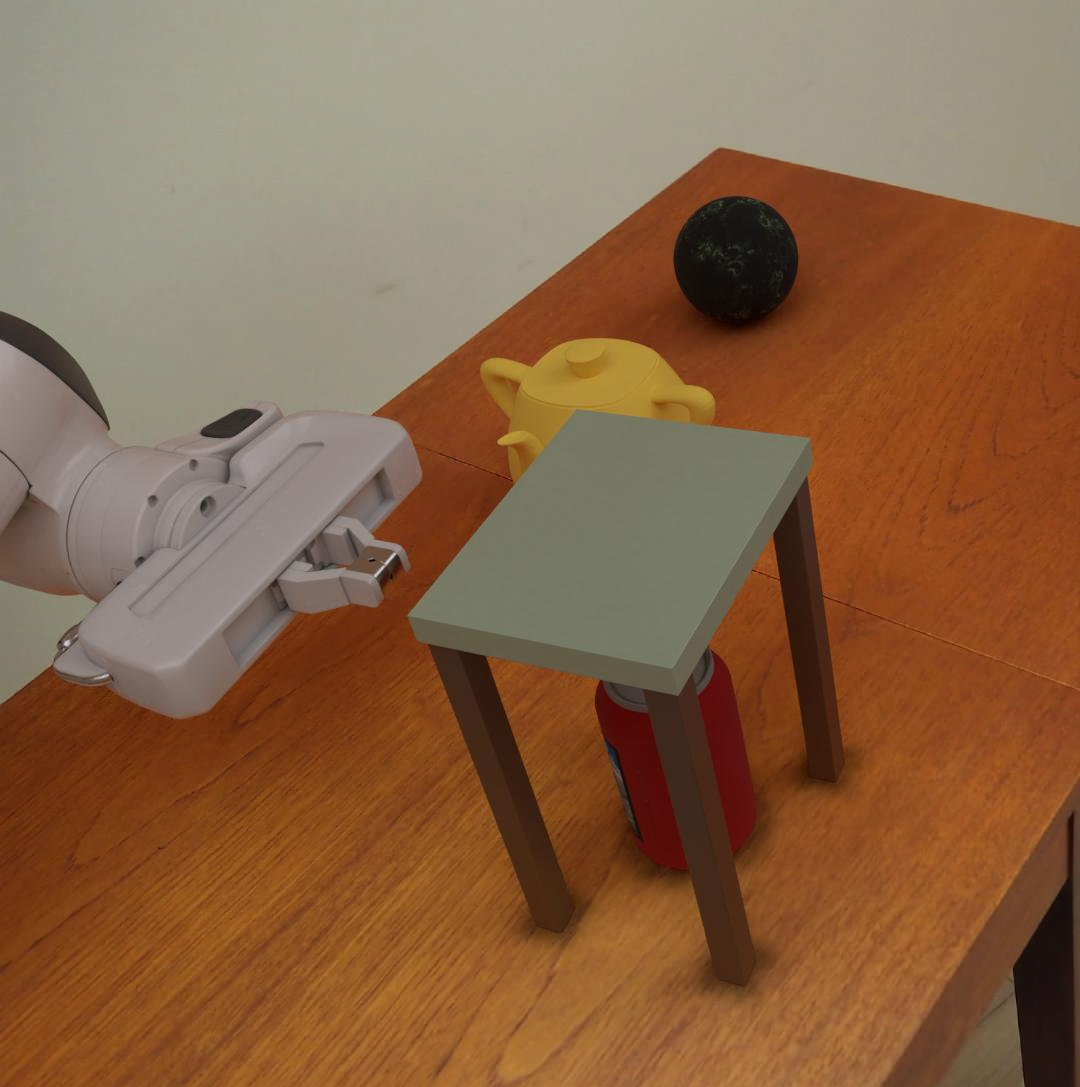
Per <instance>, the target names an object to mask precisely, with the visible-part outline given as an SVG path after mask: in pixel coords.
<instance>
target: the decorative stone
mask: <svg viewBox="0 0 1080 1087" xmlns="http://www.w3.org/2000/svg"><path fill="white" fill-rule="evenodd" d="M673 249H674V250H673V256H672V258H673V259H672V261H673V270H674V274H675V278H676V281H677V284H678V287H679V289H680V291H681V292H682V294H683V296H684V297H685V299H686V300H687V301H688V302H689V303H690V304H691V305H692V307H694V308H695V309H696V310H697V311H698V312H700V313H701V314H703V315H704V316H706V317H708V318H710V319H712V320H716V321H719V322H723V323H728V324H732V325H738V324H739V325H740V324H741V325H742V324H748V323H751V322H755V321H756V320H759V319H762V318H764V317H766V316H767V315H769V314H771V313H772V312H774V310H776V309H777V308H778V307H779V306H780V305H782V303H783V302H784V301H785V300H786V299H787V297H788V296H789V294H790V292H791V291H792V288H793V286H794V284H795V281H796V279H797V275H798V269H799V249H798V245H797V241H796V237H795V235H794V232H793V230H792V228H791V227H790V225H789V223H788V221H786V219H785V218H784V217H783V216H782V215H781V213H780V212H778V211H777V210H776V209H775V208H774V207H772V206H771V205H769V204H768V203H766V202H764V201H762V200H759V199H756V198H753V197H749V196H743V195H730V196H722V197H719V198H715V199H713V200H711V201H709V202H707V203H705V204H704V205H702V206H700V207H698V209H696V210H695V211H694V212H693V213H692V214H691V215H690V216H689V217H688V218H687V220H686V221H685V223H684V224H683V226H682V228H681V229H680V231H679V233H678V235H677V237H676V240H675V244H674V248H673Z"/></svg>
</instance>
